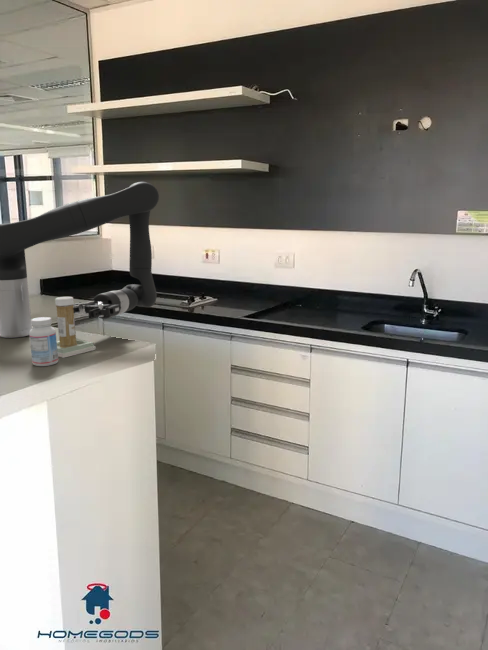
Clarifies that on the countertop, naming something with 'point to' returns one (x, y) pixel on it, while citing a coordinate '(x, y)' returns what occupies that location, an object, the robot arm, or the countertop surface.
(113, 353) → the countertop surface
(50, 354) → the pill bottle
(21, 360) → the countertop surface
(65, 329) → the sprinkles bottle
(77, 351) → the socket plate
